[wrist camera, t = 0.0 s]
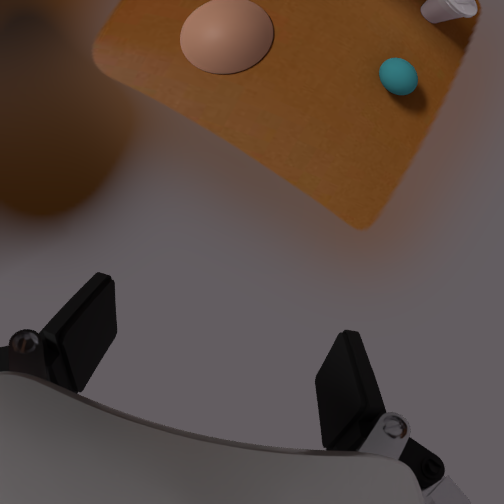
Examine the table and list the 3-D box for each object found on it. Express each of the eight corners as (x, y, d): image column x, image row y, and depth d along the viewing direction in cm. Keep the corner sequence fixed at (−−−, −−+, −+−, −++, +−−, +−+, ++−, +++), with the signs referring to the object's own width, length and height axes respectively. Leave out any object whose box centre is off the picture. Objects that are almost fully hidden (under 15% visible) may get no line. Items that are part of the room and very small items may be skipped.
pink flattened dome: (193, -5, 28) (193, -5, 28) (281, 5, 28) (282, 5, 28) (171, 68, 33) (170, 68, 33) (261, 81, 33) (261, 81, 33)
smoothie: (451, 20, 25) (499, 0, 12) (435, 36, 27) (487, 16, 14) (423, -8, 23) (466, -37, 11) (406, 8, 26) (450, -23, 13)
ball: (377, 56, 30) (391, 47, 25) (409, 71, 31) (427, 65, 25) (370, 88, 33) (384, 83, 28) (403, 102, 33) (421, 100, 28)
